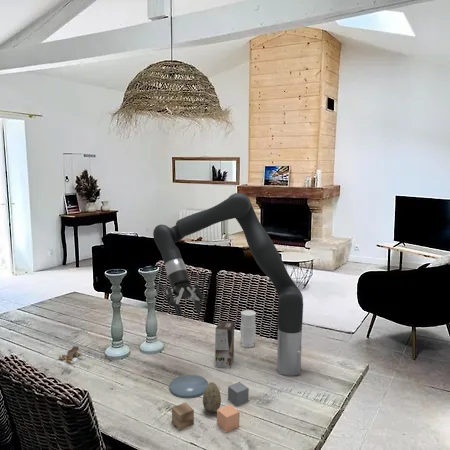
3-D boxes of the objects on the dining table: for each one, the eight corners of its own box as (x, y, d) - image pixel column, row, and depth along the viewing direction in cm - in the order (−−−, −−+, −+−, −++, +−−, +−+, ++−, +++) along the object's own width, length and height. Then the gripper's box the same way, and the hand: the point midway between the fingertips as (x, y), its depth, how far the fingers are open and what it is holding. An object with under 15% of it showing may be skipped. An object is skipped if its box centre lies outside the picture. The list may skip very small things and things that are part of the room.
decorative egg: (214, 418, 134) (214, 389, 132) (199, 412, 137) (199, 384, 136) (224, 409, 139) (224, 381, 137) (209, 404, 142) (209, 376, 141)
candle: (237, 346, 186) (238, 314, 184) (243, 340, 193) (243, 309, 191) (252, 349, 184) (253, 316, 182) (257, 342, 190) (258, 311, 188)
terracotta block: (229, 418, 134) (229, 404, 134) (239, 426, 130) (239, 411, 130) (216, 424, 131) (217, 409, 131) (226, 432, 127) (226, 417, 127)
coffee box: (230, 368, 167) (230, 330, 164) (214, 366, 168) (214, 328, 165) (234, 358, 175) (234, 321, 173) (219, 356, 177) (219, 320, 174)
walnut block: (185, 416, 135) (185, 402, 134) (193, 424, 131) (193, 409, 130) (172, 422, 132) (171, 407, 131) (179, 430, 128) (179, 415, 127)
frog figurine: (65, 351, 181) (65, 343, 180) (90, 354, 178) (90, 346, 178) (49, 364, 170) (48, 355, 169) (75, 367, 167) (75, 358, 167)
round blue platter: (212, 380, 157) (212, 377, 157) (201, 400, 144) (201, 397, 144) (177, 375, 161) (177, 372, 161) (163, 394, 147) (163, 391, 147)
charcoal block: (239, 395, 148) (239, 381, 147) (248, 401, 144) (248, 388, 143) (228, 399, 145) (228, 386, 144) (236, 406, 141) (237, 392, 140)
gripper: (165, 270, 152) (179, 312, 146) (197, 267, 161) (210, 306, 155) (156, 279, 156) (168, 320, 151) (187, 275, 166) (200, 314, 160)
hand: (190, 313), depth 153 cm, fingers open, 8 cm apart
